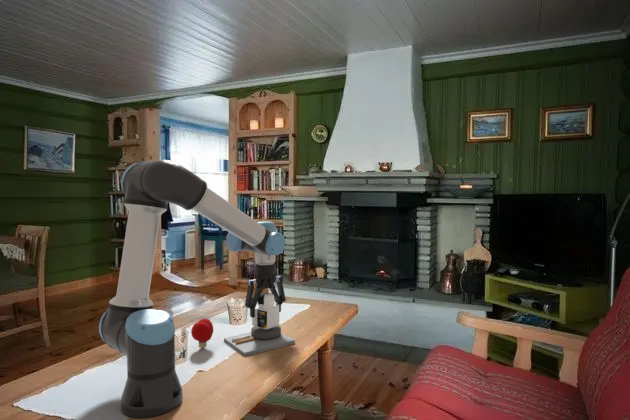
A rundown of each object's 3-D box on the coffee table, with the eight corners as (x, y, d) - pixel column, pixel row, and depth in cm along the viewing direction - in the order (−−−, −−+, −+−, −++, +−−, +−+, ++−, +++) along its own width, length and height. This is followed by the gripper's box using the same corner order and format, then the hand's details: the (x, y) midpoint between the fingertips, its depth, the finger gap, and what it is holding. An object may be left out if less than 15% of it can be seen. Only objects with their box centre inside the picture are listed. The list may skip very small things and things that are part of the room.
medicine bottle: (252, 326, 155) (252, 294, 155) (265, 321, 161) (265, 290, 160) (266, 330, 151) (266, 297, 151) (279, 324, 157) (279, 293, 156)
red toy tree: (205, 354, 141) (205, 325, 141) (186, 353, 143) (186, 324, 142) (217, 344, 150) (217, 317, 150) (199, 343, 152) (199, 316, 151)
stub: (259, 342, 149) (259, 335, 149) (246, 334, 158) (246, 327, 158) (286, 336, 155) (286, 329, 155) (271, 328, 164) (271, 322, 164)
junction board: (244, 356, 140) (244, 349, 140) (224, 341, 154) (223, 335, 154) (294, 343, 151) (294, 337, 151) (271, 330, 165) (271, 324, 165)
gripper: (243, 267, 146) (244, 331, 147) (295, 261, 158) (295, 320, 159) (234, 264, 152) (235, 326, 153) (284, 258, 164) (285, 315, 165)
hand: (265, 323), depth 156 cm, fingers closed on medicine bottle, 9 cm apart
